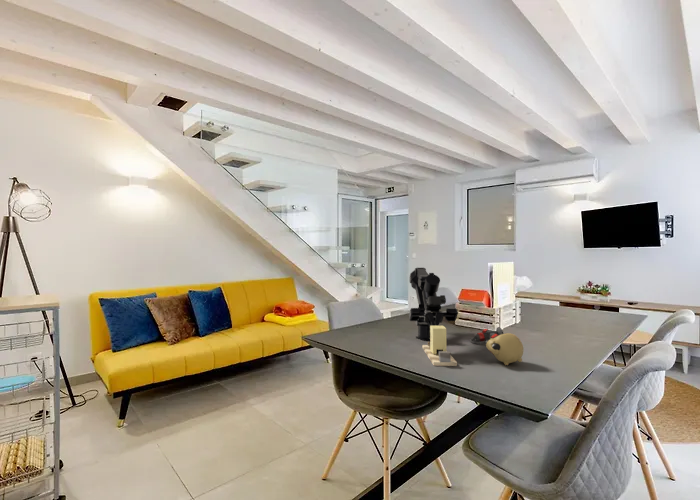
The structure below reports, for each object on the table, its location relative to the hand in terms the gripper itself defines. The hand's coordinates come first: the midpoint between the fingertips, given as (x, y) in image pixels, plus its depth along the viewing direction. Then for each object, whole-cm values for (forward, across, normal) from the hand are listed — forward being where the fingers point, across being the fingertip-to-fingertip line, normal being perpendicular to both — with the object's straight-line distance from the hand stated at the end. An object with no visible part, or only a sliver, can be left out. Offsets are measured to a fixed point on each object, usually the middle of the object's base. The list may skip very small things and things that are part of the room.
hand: (436, 332), depth 132 cm
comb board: (+8, 0, +4) cm, 9 cm away
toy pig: (+13, +22, -2) cm, 26 cm away
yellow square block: (+7, 0, +3) cm, 7 cm away
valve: (-4, +26, +16) cm, 31 cm away
